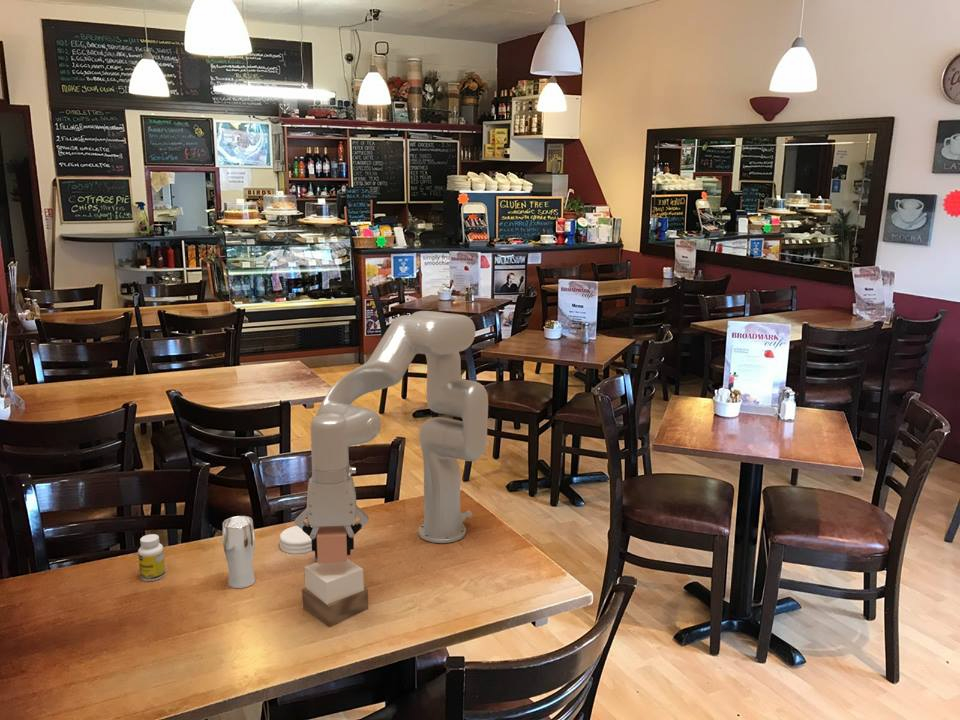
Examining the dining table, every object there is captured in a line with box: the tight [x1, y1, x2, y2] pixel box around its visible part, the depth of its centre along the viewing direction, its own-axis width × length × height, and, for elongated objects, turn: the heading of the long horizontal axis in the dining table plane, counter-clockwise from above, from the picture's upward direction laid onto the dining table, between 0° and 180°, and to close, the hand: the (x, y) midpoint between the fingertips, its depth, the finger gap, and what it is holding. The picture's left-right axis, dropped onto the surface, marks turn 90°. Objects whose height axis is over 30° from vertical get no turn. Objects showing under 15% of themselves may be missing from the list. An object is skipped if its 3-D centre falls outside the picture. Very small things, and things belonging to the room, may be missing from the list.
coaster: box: [279, 525, 313, 555], centre depth 195 cm, size 10×10×4 cm
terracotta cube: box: [317, 526, 349, 564], centre depth 163 cm, size 6×6×6 cm
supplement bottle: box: [137, 533, 166, 582], centre depth 178 cm, size 5×5×10 cm
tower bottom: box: [301, 586, 369, 628], centre depth 166 cm, size 10×10×5 cm
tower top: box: [304, 558, 365, 605], centre depth 165 cm, size 9×9×5 cm
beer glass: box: [222, 515, 256, 589], centre depth 176 cm, size 7×7×15 cm
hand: (333, 552), depth 163 cm, fingers closed on terracotta cube, 6 cm apart
